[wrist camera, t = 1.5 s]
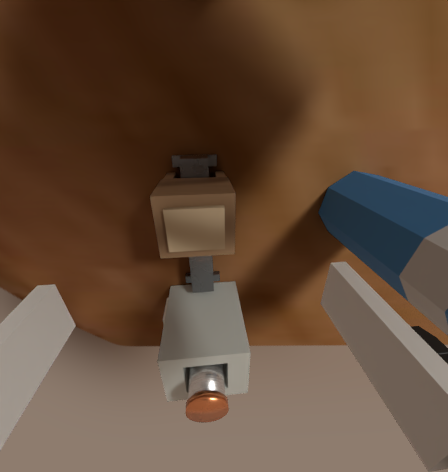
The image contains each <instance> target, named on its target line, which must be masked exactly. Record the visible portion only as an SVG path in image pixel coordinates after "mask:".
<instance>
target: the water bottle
mask: <svg viewBox="0 0 448 472" xmlns="http://www.w3.org/2000/svg"><path fill="white" fill-rule="evenodd" d="M318 213H319V215H320V217H321V219H322V221H323V223H324V225H325V227H326V228H327V230H328V232H330V233H331V234H332V235H333V236H334V237H335V238H336V239H338V240H339V241H340V242H341V243H342V244H343V245H344V246H346V247H347V248H348V249H349V250H350V251H351V252H352V253H354V254H355V255H356V256H357V257H358V258H359V259H360V260H362V261H363V262H364V263H365V264H366V265H367V266H369V267H370V268H371V269H372V270H373V271H374V272H375V273H377V274H378V275H379V276H380V277H381V278H382V279H383V280H385V281H386V282H387V283H388V284H389V285H390V286H391V287H393V288H394V289H395V290H396V291H397V292H398V293H399V294H401V295H402V296H403V297H404V298H405V299H406V300H407V301H409V302H410V303H411V304H412V305H413V306H414V307H416V308H417V309H418V310H419V311H420V312H421V313H422V314H424V315H425V316H426V317H427V318H428V319H429V320H430V321H432V322H433V323H434V324H435V325H436V326H437V327H438V328H440V329H441V330H442V331H443V332H444V333H445V334H446V335H448V197H446V196H443V195H440V194H436V193H433V192H430V191H427V190H424V189H420V188H417V187H414V186H411V185H408V184H404V183H401V182H398V181H395V180H392V179H388V178H385V177H382V176H379V175H374V174H368V173H363V172H357V171H353V172H351V173H350V174H348V175H347V176H345V177H344V178H342V179H340V180H339V181H337V182H336V183H334V184H333V185H331V186H330V187H328V189H327V192H326V194H325V197H324V200H323V202H322V205H321V207H320V210H319V212H318Z"/></svg>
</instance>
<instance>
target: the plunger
mask: <svg viewBox="0 0 448 472" xmlns="http://www.w3.org/2000/svg"><path fill="white" fill-rule="evenodd" d="M227 413H228V399H227V397H226V396H225V386H224V375H223V364H214V365H204V366H194V367H190V370H189V393H188V400H187V402H186V416H187V417H188V418H189V419H190V420H192V421H196V422H211V421H216V420H218V419H220V418H222V417H224V416H225V415H226V414H227Z"/></svg>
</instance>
